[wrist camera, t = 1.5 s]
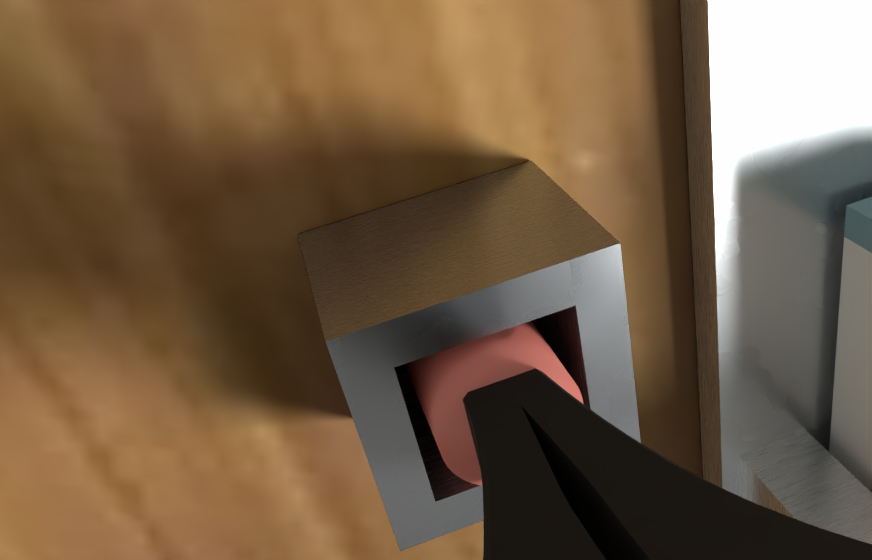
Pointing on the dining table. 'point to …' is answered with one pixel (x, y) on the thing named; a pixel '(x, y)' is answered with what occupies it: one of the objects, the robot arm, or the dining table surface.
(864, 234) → the cartridge
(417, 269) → the plunger collar
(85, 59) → the dining table surface
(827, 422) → the housing
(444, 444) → the plunger
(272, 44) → the dining table surface
